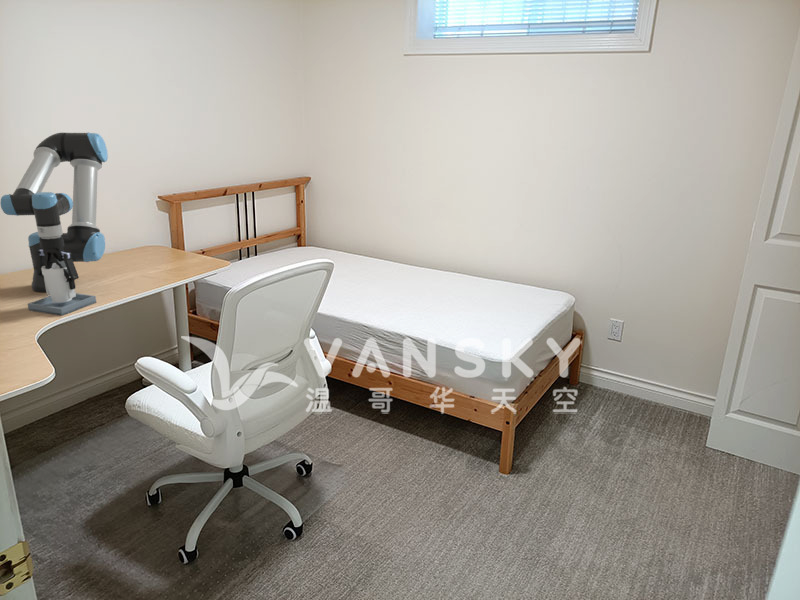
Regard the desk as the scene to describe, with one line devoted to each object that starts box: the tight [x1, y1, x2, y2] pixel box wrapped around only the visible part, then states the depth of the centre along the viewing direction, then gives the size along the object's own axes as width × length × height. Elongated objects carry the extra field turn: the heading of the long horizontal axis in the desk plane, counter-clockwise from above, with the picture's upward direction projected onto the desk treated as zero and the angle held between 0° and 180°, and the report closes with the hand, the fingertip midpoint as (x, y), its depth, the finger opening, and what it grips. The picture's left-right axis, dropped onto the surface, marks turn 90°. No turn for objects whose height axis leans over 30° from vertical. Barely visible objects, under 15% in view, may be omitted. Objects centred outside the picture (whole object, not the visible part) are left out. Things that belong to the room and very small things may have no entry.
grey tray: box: [27, 292, 97, 317], centre depth 217 cm, size 16×16×3 cm
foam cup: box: [41, 263, 72, 303], centre depth 214 cm, size 10×9×13 cm
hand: (61, 295), depth 216 cm, fingers closed on foam cup, 9 cm apart
